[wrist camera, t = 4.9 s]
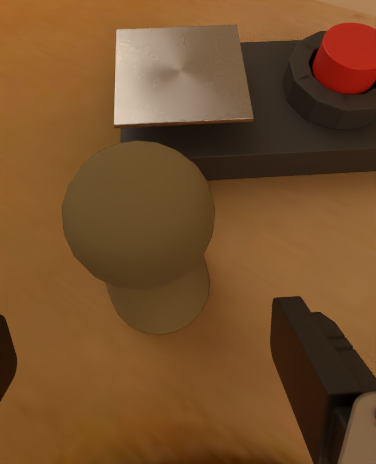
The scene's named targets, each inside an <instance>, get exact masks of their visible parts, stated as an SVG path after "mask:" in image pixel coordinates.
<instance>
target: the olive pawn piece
mask: <svg viewBox="0 0 376 464" xmlns="http://www.w3.org/2000/svg"><path fill="white" fill-rule="evenodd" d="M214 217H215V206H214V202H213V198H212V194H211V191H210V187H209V185H208V182H207V180H206V179H205V177H204V176H203V174H202V173H201V171H200V170H199V168H198V167H197V166H196V165H195V164H194V163H193V162H192V161H190V160H189V159H188V158H186V157H185V156H184V155H182V154H181V153H180V152H178V151H177V150H175V149H172V148H170V147H167V146H164V145H162V144H159V143H156V142H145V141H132V142H125V143H119V144H115V145H113V146H111V147H108V148H106V149H104V150H102V151H99V152H98V153H96V154H95V155H94V156H93V157H91V158H90V159H89V160H87V161H86V162H85V163H84V164H82V166H81V167H80V169H79V170H78V172H77V173H76V175H75V176H74V177H73V179H72V180H71V182H70V184H69V185H68V188H67V191H66V194H65V198H64V201H63V204H62V218H63V230H64V235H65V237H66V240H67V242H68V244H69V246H70V248H71V251H72V253H73V255H74V256H75V257H76V258H77V259H78V260H79V261H80V262H81V263H82V264H83V265H84V266H85V267H86V268H87V269H88V270H89V271H90V272H91V273H92V274H93V275H94V276H95V277H96V278H98V279H100V280H102V281H105V282H106V285H107V288H108V291H109V294H110V297H111V300H112V302H113V304H114V307H115V309H116V311H117V313H118V315H119V316H120V317H121V318H122V319H123V320H124V321H125V322H126V323H127V324H128V325H129V326H132V327H134V328H136V329H138V330H140V331H142V332H144V333H152V334H165V333H170V332H175V331H178V330H179V329H181V328H183V327H185V326H186V325H188V324H190V323H191V322H192V321H193V320H194V319H195V318H196V317H197V316H198V314H199V313H200V312H201V311H202V309H203V307H204V305H205V303H206V300H207V298H208V294H209V283H210V280H209V275H208V271H207V267H206V263H205V259H204V252H205V250H206V248H207V246H208V244H209V242H210V240H211V237H212V234H213V227H214Z"/></svg>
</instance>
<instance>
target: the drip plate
mask: <svg viewBox="0 0 376 464" xmlns="http://www.w3.org/2000/svg"><path fill="white" fill-rule="evenodd" d="M253 119H254V117H253V111H252V106H251V100H250V95H249V89H248V84H247V79H246V73H245V68H244V62H243V57H242V51H241V46H240V40H239V35H238V29H237V25H215V26H190V27H166V28H141V29H117V30H116V64H115V100H114V127H115V128H132V127H152V126H172V125H192V124H212V123H233V122H252V121H253Z"/></svg>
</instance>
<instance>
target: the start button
mask: <svg viewBox="0 0 376 464" xmlns="http://www.w3.org/2000/svg"><path fill="white" fill-rule="evenodd" d="M312 71H313V75H314V77H315V79H316V80H317V81H319V82H320V83H321V84H322V85H323V86H324V87H325V88H326V89H329V90H332V91H335V92H338V93H341V94H344V95H355V94H360V93H363V92H365V91H367V90H368V89H369V88H371V87H372V85H373V84H374V82H375V81H376V29H374V28H372V27H370V26H367V25H364V24H359V23H342V24H338V25H336V26H333V27H332V28H330V29H329V30H328V31H327V32H326V33H325V35H324V37H323V39H322V42H321V44H320V47H319V49H318V52H317V54H316V57H315V59H314V62H313V65H312Z"/></svg>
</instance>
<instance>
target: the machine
mask: <svg viewBox="0 0 376 464" xmlns="http://www.w3.org/2000/svg"><path fill="white" fill-rule="evenodd" d="M326 32H327V31H320V32H317V33H315V34H313V35H311V36H309V37H307V38H305V39H303V40H292V41H269V42H245V43H240V46H241V51H242V57H243V62H244V68H245V73H246V79H247V84H248V89H249V95H250V100H251V106H252V111H253V117H254V119H253V121H252V122H233V123H212V124H192V125H172V126H152V127H132V128H121V143H125V142H132V141H145V142H156V143H159V144H162V145H164V146H167V147H170V148H172V149H175V150H177V151H178V152H180V153H181V154H182V155H184V156H185V157H186V158H188V159H189V160H190V161H192V162H193V163H194V164H195V165H196V166H197V167H198V168H199V170H200V171H201V173H202V174H203V176H204V177H205V179H206V180H219V179H237V178H256V177H274V176H292V175H311V174H329V173H347V172H366V171H376V81H375V82H374V84H373V85H372V87H371V88H369V89H368V90H367V91H365V92H363V93H360V94H355V95H344V94H341V93H338V92H335V91H332V90H329V89H326V88H325V87H324V86H323V85H322V84H321V83H320V82H319V81H317V80H316V79H315V77H314V75H313V71H312V65H313V62H314V59H315V57H316V54H317V52H318V49H319V47H320V44H321V42H322V39H323V37H324V35H325V33H326Z"/></svg>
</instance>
